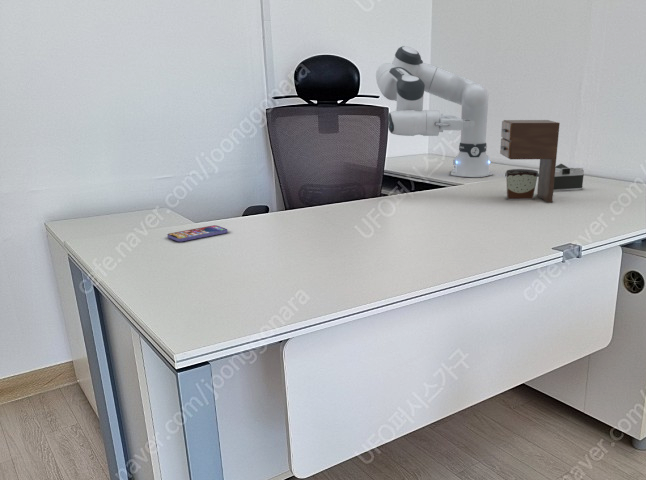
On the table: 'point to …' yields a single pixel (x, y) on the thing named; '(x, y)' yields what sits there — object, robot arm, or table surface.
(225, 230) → the smartphone
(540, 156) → the drawer unit
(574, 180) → the camera
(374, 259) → the table surface
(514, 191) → the food container
